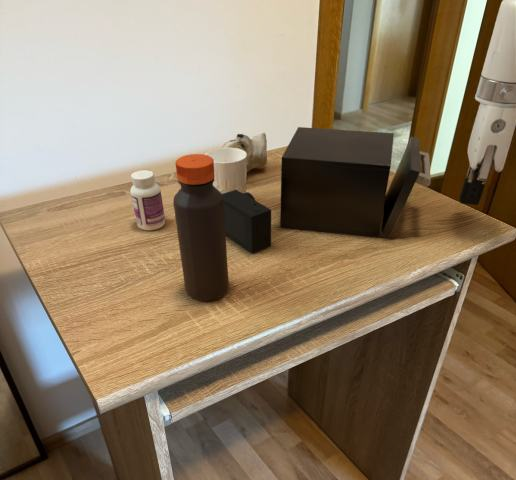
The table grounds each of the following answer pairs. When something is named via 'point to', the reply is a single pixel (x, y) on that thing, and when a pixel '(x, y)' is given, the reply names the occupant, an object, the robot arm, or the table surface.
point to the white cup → (229, 169)
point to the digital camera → (247, 221)
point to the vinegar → (201, 228)
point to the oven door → (404, 184)
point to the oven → (335, 181)
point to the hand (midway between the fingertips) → (468, 202)
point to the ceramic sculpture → (251, 149)
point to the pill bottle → (147, 201)
